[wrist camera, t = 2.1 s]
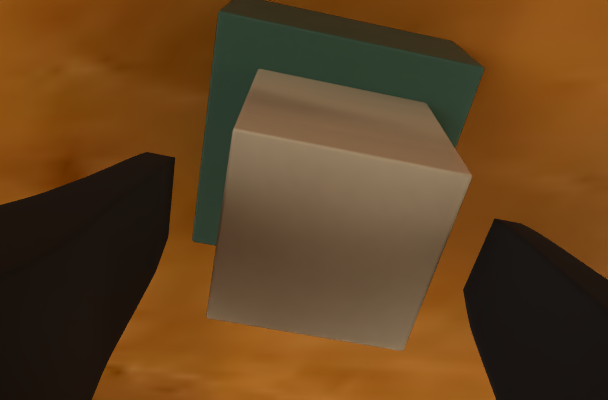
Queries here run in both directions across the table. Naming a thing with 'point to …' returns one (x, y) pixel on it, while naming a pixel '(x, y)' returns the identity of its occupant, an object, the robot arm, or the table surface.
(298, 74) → the base block
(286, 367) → the table surface
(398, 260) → the top cube
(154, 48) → the table surface
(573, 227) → the table surface
